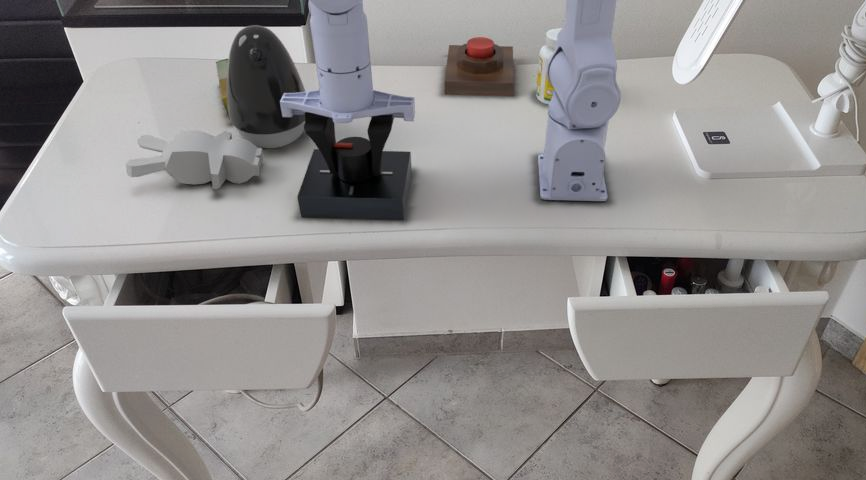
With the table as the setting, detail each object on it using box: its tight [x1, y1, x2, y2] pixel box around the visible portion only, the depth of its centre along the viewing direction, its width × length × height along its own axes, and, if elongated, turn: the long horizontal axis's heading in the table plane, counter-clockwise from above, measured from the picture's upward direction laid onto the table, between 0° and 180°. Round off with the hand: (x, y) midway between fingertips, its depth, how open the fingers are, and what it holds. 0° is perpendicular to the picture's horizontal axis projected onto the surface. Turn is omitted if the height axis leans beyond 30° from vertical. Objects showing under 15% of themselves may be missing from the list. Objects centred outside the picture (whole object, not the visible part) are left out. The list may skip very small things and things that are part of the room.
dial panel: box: [296, 148, 413, 221], centre depth 85 cm, size 10×12×3 cm
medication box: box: [215, 57, 229, 117], centre depth 101 cm, size 12×3×4 cm, turn 19°
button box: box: [444, 43, 515, 97], centre depth 108 cm, size 12×10×4 cm
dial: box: [334, 136, 373, 183], centre depth 83 cm, size 4×4×4 cm
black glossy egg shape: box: [227, 24, 306, 149], centre depth 90 cm, size 10×10×15 cm
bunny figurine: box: [125, 129, 264, 190], centre depth 87 cm, size 10×5×15 cm
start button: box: [466, 36, 495, 59], centre depth 106 cm, size 4×4×2 cm
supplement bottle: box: [535, 27, 563, 106], centre depth 101 cm, size 5×5×10 cm
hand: (355, 170), depth 84 cm, fingers closed on dial, 4 cm apart
